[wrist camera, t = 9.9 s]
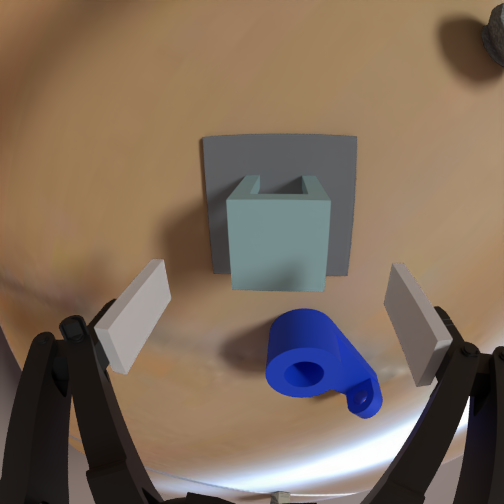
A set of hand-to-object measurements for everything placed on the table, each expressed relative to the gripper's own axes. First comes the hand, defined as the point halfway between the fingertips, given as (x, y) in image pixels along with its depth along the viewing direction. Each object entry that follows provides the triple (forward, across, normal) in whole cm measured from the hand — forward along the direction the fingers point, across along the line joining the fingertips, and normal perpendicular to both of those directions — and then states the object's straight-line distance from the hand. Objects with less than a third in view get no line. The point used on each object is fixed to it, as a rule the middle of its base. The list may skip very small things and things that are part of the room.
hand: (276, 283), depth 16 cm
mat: (+17, 0, 0) cm, 17 cm away
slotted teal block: (+16, 0, 0) cm, 16 cm away
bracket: (+17, +7, -22) cm, 29 cm away
